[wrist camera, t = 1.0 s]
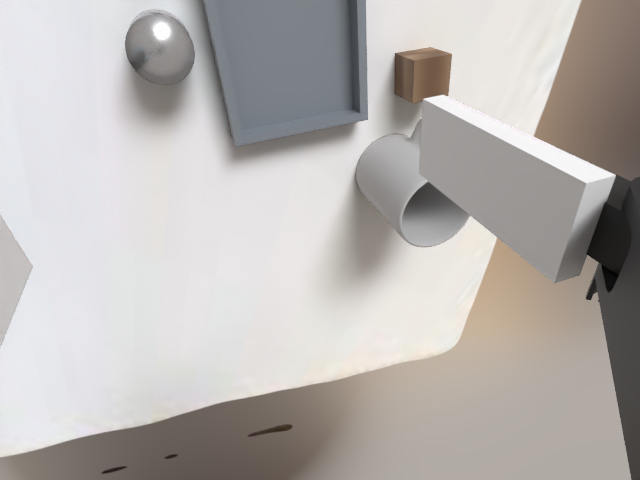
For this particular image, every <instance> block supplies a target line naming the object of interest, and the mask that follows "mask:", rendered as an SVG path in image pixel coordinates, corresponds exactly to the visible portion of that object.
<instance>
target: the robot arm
mask: <svg viewBox="0 0 640 480" xmlns="http://www.w3.org/2000/svg"><path fill="white" fill-rule="evenodd" d="M419 174H420V175H421V176H422V177H423V178H425V179H426V180H427V181H428V182H430V183H431V184H432V185H433V186H435V187H436V188H437V189H438V190H439V191H441V192H442V193H443V194H444V195H446V196H447V197H448V198H449V199H451V200H452V201H453V202H454V203H456V204H457V205H458V206H459V207H460V208H462V209H463V210H464V211H465V212H467V213H468V214H469V215H470V216H472V217H473V218H474V219H475V220H477V221H478V222H479V223H480V224H481V225H483V226H484V227H485V228H486V229H488V230H489V231H490V232H491V233H493V234H494V235H495V236H496V237H498V238H499V239H500V240H501V241H502V242H504V243H505V244H506V245H508V246H509V247H510V248H511V249H513V250H514V251H515V252H516V253H517V254H519V255H520V256H521V257H522V258H524V259H525V260H526V261H527V262H528V263H530V264H531V265H532V266H533V267H535V268H536V269H537V270H538V271H540V272H541V273H542V274H543V275H545V276H546V277H547V278H548V279H549V280H551V281H552V282H553V283H557V282H560V281H563V280H566V279H569V278H572V277H575V276H578V275H580V273H581V270H582V267H583V265H584V262H585V259H586V257H587V255H589V256H590V257H592V258H593V259H595V260H596V261H598V262H599V264H598V266H597V269H596V271H595V274H594V276H593V279H592V282H591V284H590V287H589V289H588V292H587V295H586V299H587V300H591V298H592V296H593V294H594V293H596V292H598V297H599V300H598V302H600V307H601V313H602V319H603V325H604V330H605V335H606V340H607V347H608V352H609V357H610V363H611V368H612V374H613V380H614V385H615V391H616V396H617V402H618V407H619V413H620V418H621V423H622V429H623V435H624V440H625V445H626V451H627V456H628V462H629V467H630V473H631V479H632V480H640V177H638V178H635V179H634V180H632V181H629V180H627V179H624V178H622V177H620V176H618V175H616V174H614V173H611V172H609V171H607V170H605V169H603V168H601V167H599V166H597V165H594V164H592V163H590V162H586V160H584V159H581V158H579V157H577V156H574V155H573V154H571V153H569V152H566V151H564V150H562V149H560V148H558V147H554V146H552V145H550V144H548V143H546V142H543V141H542V140H539V139H537V138H535V137H533V136H531V135H529V134H527V133H524V132H522V131H520V130H518V129H516V128H514V127H512V126H509V125H507V124H505V123H503V122H501V121H499V120H497V119H494V118H492V117H490V116H488V115H486V114H484V113H482V112H479V111H477V110H475V109H473V108H471V107H469V106H467V105H464V104H462V103H460V102H458V101H456V100H454V99H452V98H449V97H447V96H445V95H439V96H434V97H429V98H424V99H423V108H422V125H421V142H420V160H419ZM32 267H33V266H32V264H31V263H30V261H29V260H28V258H27V256H26V255H25V253H24V252H23V250H22V248H21V247H20V245H19V244H18V242H17V240H16V239H15V237H14V236H13V234H12V232H11V231H10V229H9V228H8V226H7V225H6V223H5V221H4V220H3V218H2V217H1V215H0V347H1V345H2V342H3V340H4V337H5V335H6V332H7V330H8V327H9V325H10V322H11V320H12V317H13V315H14V312H15V310H16V307H17V305H18V302H19V300H20V297H21V295H22V292H23V290H24V287H25V285H26V282H27V280H28V277H29V275H30V272H31V270H32Z"/></svg>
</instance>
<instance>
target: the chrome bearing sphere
mask: <svg viewBox="0 0 640 480" xmlns="http://www.w3.org/2000/svg"><path fill="white" fill-rule="evenodd" d="M125 48H126V53H127V57H128V59H129V62H130V63H131V65H132V67H133V68H134V69H135V70H136V72H137V73H138V74H140V75H141V76H142V77H143V78H145V79H146V80H148V81H150V82H153V83H156V84H161V85H168V84H174V83H177V82H179V81H181V80H182V79H184V78H185V77H186V76H187V75H188V74H189V72H190V71H191V69H192V66H193V64H194V58H195V52H194V46H193V42H192V40H191V38H190V35H189V33H188V31H187V29H186V28H185V26H184V25H183V23H182V22H181V21H180V20H179V19H178V18H177V17H175V16H174V15H172V14H170V13H169V12H166V11H163V10H157V9H153V10H147V11H144V12H142V13H140V14H139V15H137V16H136V17H135V18H134V20H133V21H132V23H131V25H130V27H129V30H128V32H127V36H126V41H125Z"/></svg>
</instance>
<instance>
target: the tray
mask: <svg viewBox="0 0 640 480" xmlns="http://www.w3.org/2000/svg"><path fill="white" fill-rule="evenodd" d="M202 1H203V5H204V10H205V15H206V19H207V24H208V28H209V33H210V38H211V42H212V47H213V51H214V56H215V60H216V65H217V70H218V74H219V79H220V83H221V88H222V93H223V97H224V102H225V106H226V111H227V116H228V120H229V125H230V129H231V134H232V138H233V141H234V143H235V145H236V146H241V145H246V144H251V143H256V142H261V141H266V140H270V139H275V138H280V137H285V136H290V135H295V134H300V133H305V132H310V131H315V130H319V129H324V128H329V127H334V126H339V125H344V124H349V123H354V122H359V121H364V120H368V100H367V47H366V0H202Z"/></svg>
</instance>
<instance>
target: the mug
mask: <svg viewBox="0 0 640 480" xmlns="http://www.w3.org/2000/svg"><path fill="white" fill-rule="evenodd" d="M421 125H422V119H421V120H420V121H419V122H418V123H417V125H416V127H415V129H414V131H413V133H412V136H411V138H410V137H408V136H406V135H402V134H390V135H386V136H383V137H381V138H379V139H377V140H376V141H374V142H373V143H372V144H371V145H370V146H369V147H368V148H367V149H366V150H365V151H364V153H363V154H362V156H361V158H360V160H359V162H358V165H357V170H356V180H357V184H358V187H359V189H360V191H361V192H362V194H363V195H364V196H365V197H366V198H367V199H368V200H369V201H370V202H371V203H372V204H373V205H374V206H375V207H376V209H377V210H378V211H379V212H380V213H381V214H382V215H383V216H384V218H385V219H386V220H387V221H388V222H389V223H390V224H391V225H392V227H393V228H394V229H395V230H396V231H397V232H398V233H399V234H400V235H401V237H402V238H403V239H404V240H405V241H407V242H408V243H409V244H411V245H414V246H417V247H431V246H435V245H438V244H441V243H443V242H445V241H447V240H448V239H450V238H451V237H453V236H454V235H455V234H456V233H457V232H458V231H459V230H460V229H461V228H462V227H463V226H464V225H465V223H466V222H467V220H468V218H469V217H470V215H469V214H468V213H467V212H465V211H464V210H463V209H462V208H460V207H459V206H458V205H457V204H456V203H454V202H453V201H452V200H451V199H449V198H448V197H447V196H446V195H444V194H443V193H442V192H441V191H439V190H438V189H437V188H436V187H435V186H433V185H432V184H431V183H430V182H428V181H427V180H426V179H425V178H423V177H422V176H421V175H420V174H419V160H420V142H421Z"/></svg>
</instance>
